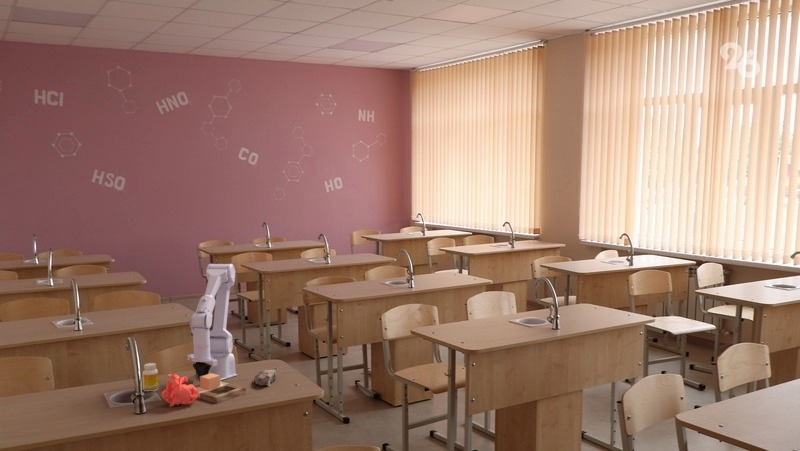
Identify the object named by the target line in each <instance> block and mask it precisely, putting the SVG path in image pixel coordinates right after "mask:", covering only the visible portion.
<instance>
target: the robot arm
mask: <svg viewBox="0 0 800 451" xmlns="http://www.w3.org/2000/svg"><path fill="white" fill-rule="evenodd" d="M205 272H206V279H207V284H206V288H205V291H204V292H205V293H204V295H202V296H200V299H199V301H198V304H197V307H196V309H195V312H194V313H192V314H191V315H190V319H189V327H190V329H191V334H192V335H193V339H192V340H193V341H192V342H193V353H191V354H187V361H189V362H190V361H191V362H192V363H193V364H192V367H193V369H194V370H195V373H196V372H197V375H198V378H199V381H200V376H203V375H207V374H208V373H212V374H216V375H220V381H223V380H226V379H231V378H233V377H235V376H236V377H237V376H238V374H237V373H236V359H235V356H234V354H233V353H232V351H233V347H234V342H233V334H232V333H231V332H229V330H227V322H228V313H229V303H230V295H231V294H230V292H231V287H233V286H235V281H236V268H235V266H234V264H233V263H217V264H216V263H209V264H208V265H207V266H206V270H205ZM215 297H216V298H215ZM213 311H214V315H213ZM213 316H214V317H213ZM212 324H213V325H212ZM212 326H213V327H212ZM211 327H212V329H211ZM210 329H211V330H210Z"/></svg>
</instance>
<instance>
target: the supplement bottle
mask: <svg viewBox="0 0 800 451" xmlns="http://www.w3.org/2000/svg"><path fill="white" fill-rule="evenodd" d="M143 367H144V370H143V371H142V390H145V391H154V392H156V391H158V390H159V386H160V385H159V383H160V382H159V370H158V369H157V363H155V362H149V363H145V364H144V365H143ZM145 391H144V392H145Z"/></svg>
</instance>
